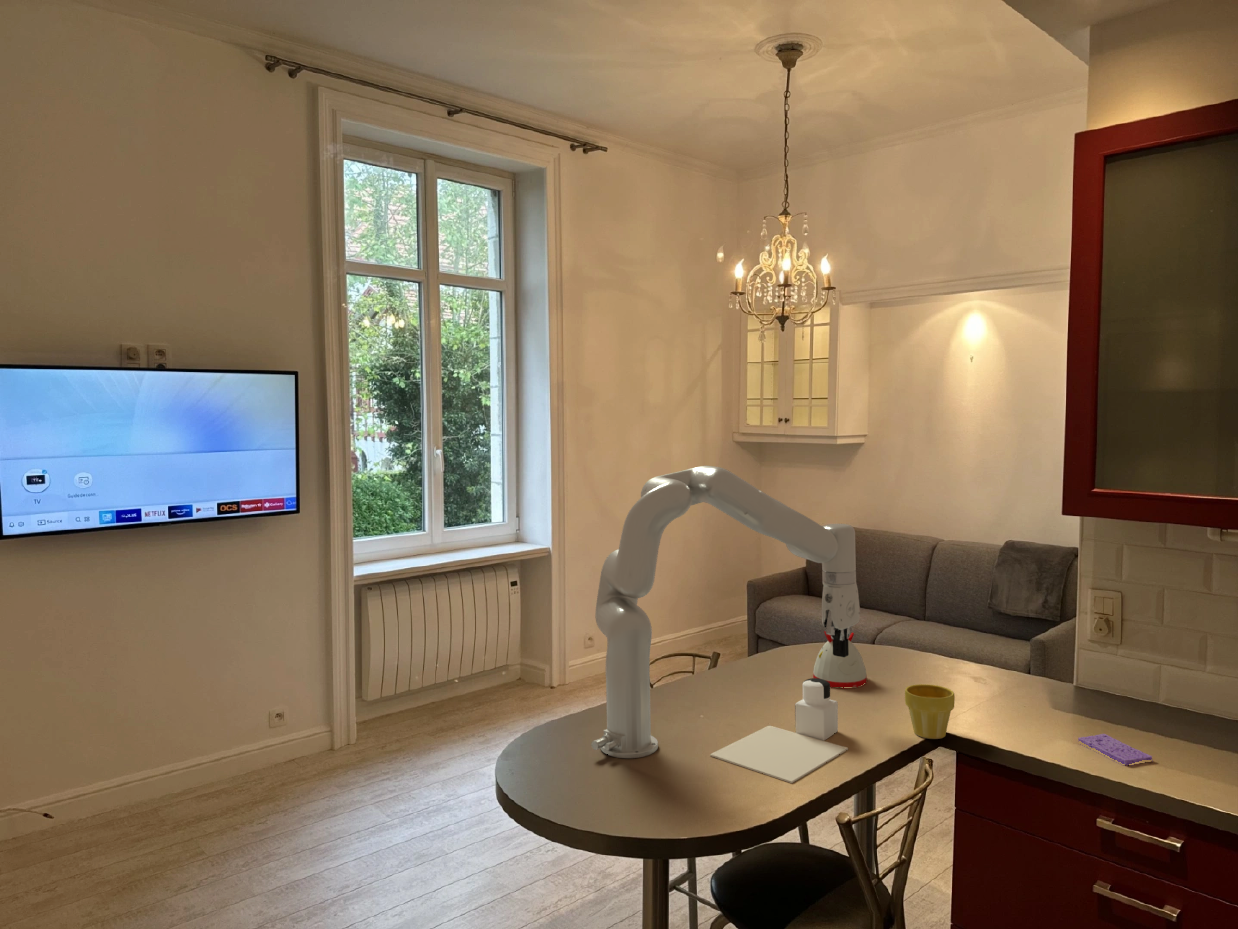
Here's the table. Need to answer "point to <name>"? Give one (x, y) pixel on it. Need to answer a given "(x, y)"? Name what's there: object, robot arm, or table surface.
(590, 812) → the table surface
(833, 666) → the kitchen timer
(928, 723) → the plant pot
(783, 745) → the mat
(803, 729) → the medicine bottle
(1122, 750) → the sponges
